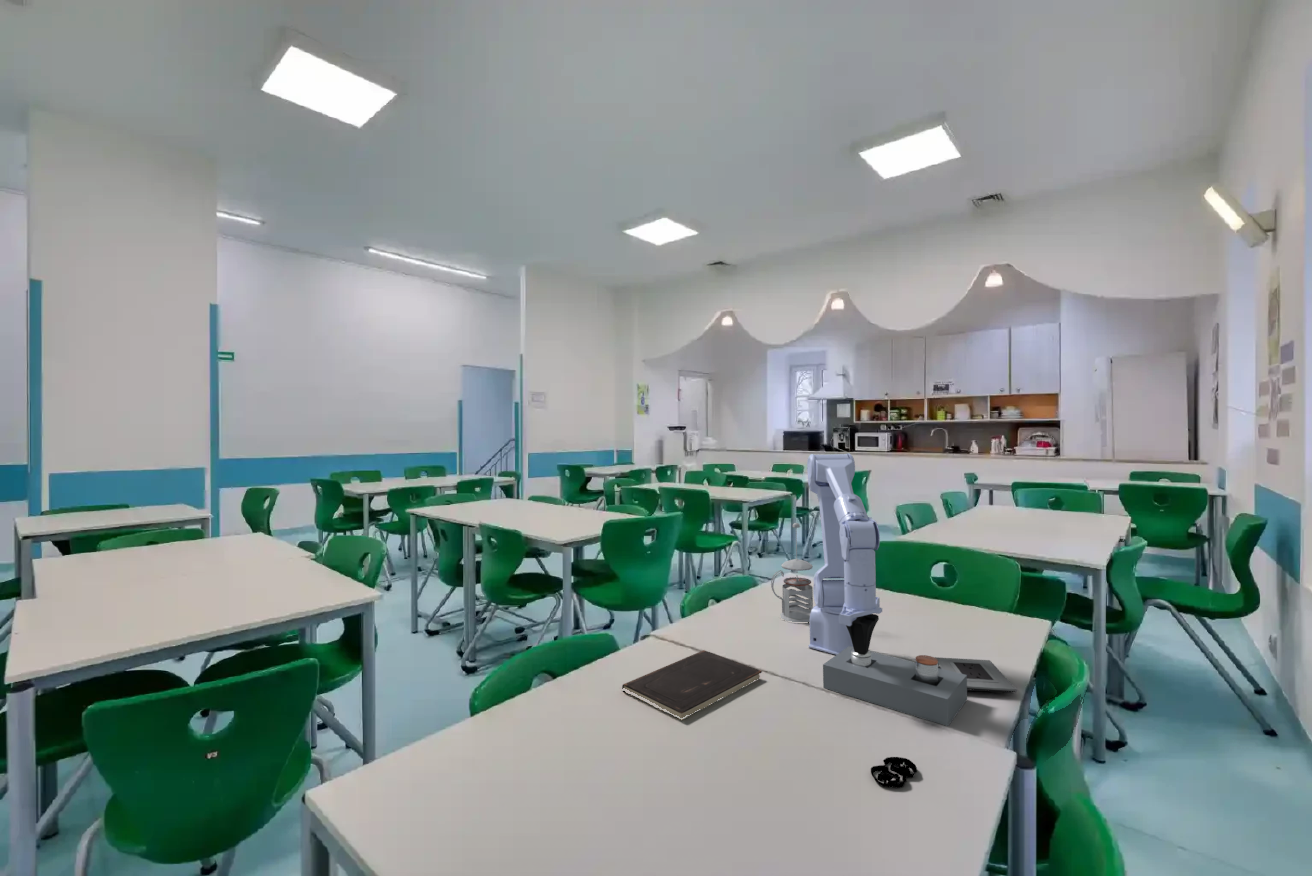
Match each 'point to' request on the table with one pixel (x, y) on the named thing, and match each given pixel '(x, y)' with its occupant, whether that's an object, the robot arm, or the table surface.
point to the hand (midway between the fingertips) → (861, 652)
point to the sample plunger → (861, 659)
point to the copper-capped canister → (927, 670)
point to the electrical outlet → (978, 674)
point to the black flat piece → (899, 770)
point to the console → (897, 686)
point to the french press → (793, 609)
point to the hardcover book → (693, 682)
